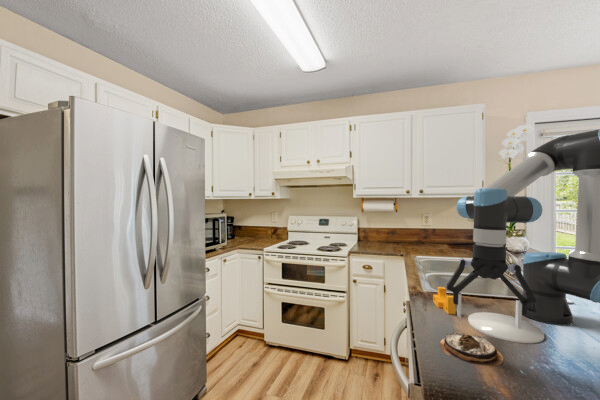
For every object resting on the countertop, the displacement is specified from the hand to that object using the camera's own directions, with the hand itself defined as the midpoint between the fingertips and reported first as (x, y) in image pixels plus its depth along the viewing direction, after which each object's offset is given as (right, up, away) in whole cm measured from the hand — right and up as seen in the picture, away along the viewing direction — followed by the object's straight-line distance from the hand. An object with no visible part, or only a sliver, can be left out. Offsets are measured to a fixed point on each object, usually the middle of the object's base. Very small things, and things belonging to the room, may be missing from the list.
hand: (487, 321), depth 76 cm
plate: (+16, -9, +15) cm, 23 cm away
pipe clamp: (+5, -9, +32) cm, 34 cm away
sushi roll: (+1, -12, 0) cm, 12 cm away
